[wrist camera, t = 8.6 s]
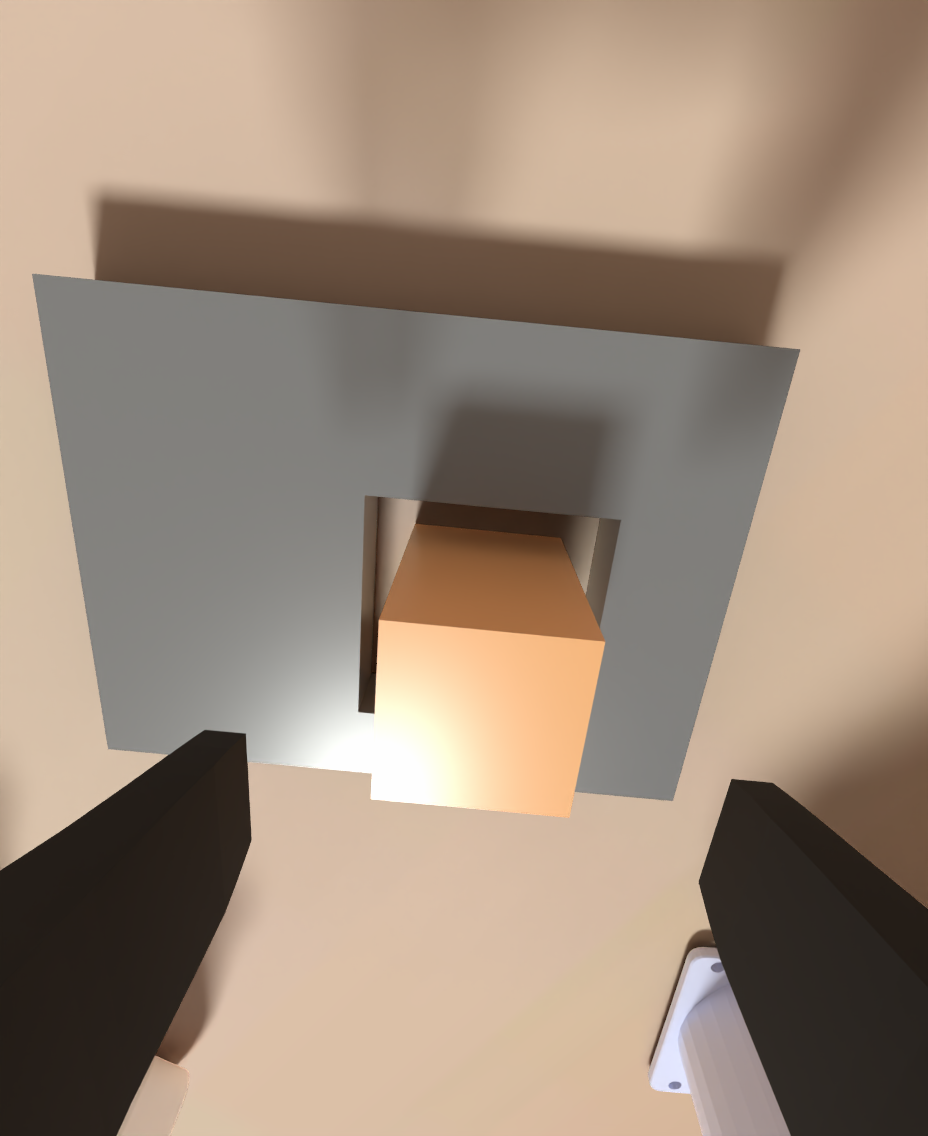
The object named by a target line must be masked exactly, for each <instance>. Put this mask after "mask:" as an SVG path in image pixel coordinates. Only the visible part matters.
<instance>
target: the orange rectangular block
mask: <svg viewBox="0 0 928 1136" xmlns="http://www.w3.org/2000/svg"><path fill="white" fill-rule="evenodd" d="M604 646H605V640H604V637H603V635H602V633H601V630H600V628H599V626H598V623H597V621H596V619H595V616H594V614H593V612H592V609H591V607H590V605H589V602H588V600H587V598H586V596H585V593H584V591H583V589H582V586H581V584H580V582H579V579H578V577H577V575H576V572H575V570H574V568H573V565H572V563H571V561H570V558H569V556H568V554H567V552H566V549H565V547H564V545H563V542H562V540H561V538H557V537H547V536H537V535H527V534H516V533H506V532H496V531H486V530H475V529H465V528H455V527H445V526H435V525H424V524H415V526H414V528H413V531H412V534H411V536H410V539H409V542H408V544H407V547H406V549H405V552H404V555H403V557H402V560H401V563H400V565H399V568H398V571H397V573H396V576H395V579H394V581H393V584H392V586H391V589H390V592H389V594H388V597H387V600H386V602H385V605H384V608H383V610H382V613H381V616H380V618H379V628H378V650H377V673H376V695H375V717H374V740H373V762H372V784H371V799H376V800H386V801H397V802H408V803H418V804H429V805H440V806H450V807H461V808H472V809H482V810H493V811H504V812H514V813H525V814H536V815H546V816H557V817H568V818H569V816H570V812H571V807H572V802H573V797H574V792H575V787H576V782H577V778H578V773H579V768H580V763H581V758H582V753H583V748H584V744H585V739H586V734H587V729H588V724H589V719H590V714H591V709H592V705H593V700H594V695H595V690H596V685H597V680H598V675H599V671H600V666H601V661H602V656H603V651H604Z"/></svg>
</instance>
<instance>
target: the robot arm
mask: <svg viewBox="0 0 928 1136" xmlns="http://www.w3.org/2000/svg"><path fill="white" fill-rule="evenodd" d="M250 843H251V821H250V802H249V783H248V764H247V745H246V733H235V732H224V731H214V730H204V731H202V732H201V733H199V734H198V735H196V736H195V737H193V738H192V739H190V740H189V741H188V742H186V743H185V744H183V745H182V746H180V747H179V748H178V749H176V750H175V751H173V752H172V753H171V754H169V755H168V756H167V757H165V758H164V759H162V760H161V761H160V762H158V763H157V764H155V765H154V766H153V767H151V768H150V769H149V770H147V771H146V772H144V773H143V774H142V775H140V776H139V777H137V778H136V779H135V780H133V781H132V782H130V783H129V784H128V785H126V786H125V787H123V788H122V789H121V790H119V791H118V792H116V793H115V794H113V795H112V796H111V797H109V798H108V799H106V800H105V801H103V802H102V803H101V804H99V805H98V806H96V807H95V808H93V809H92V810H91V811H89V812H88V813H86V814H85V815H83V816H82V817H81V818H79V819H78V820H76V821H75V822H74V823H72V824H71V825H69V826H68V827H66V828H65V829H63V830H62V831H60V832H59V833H57V834H56V835H54V836H53V837H51V838H50V839H48V840H47V841H45V842H44V843H42V844H41V845H39V846H37V847H36V848H34V849H33V850H31V851H30V852H28V853H27V854H25V855H24V856H22V857H21V858H19V859H17V860H16V861H14V862H13V863H11V864H10V865H8V866H7V867H5V868H4V869H2V870H1V871H0V1136H117V1134H118V1132H119V1129H120V1127H121V1125H122V1123H123V1121H124V1118H125V1116H126V1114H127V1112H128V1110H129V1107H130V1105H131V1103H132V1101H133V1099H134V1097H135V1095H136V1093H137V1091H138V1089H139V1087H140V1085H141V1083H142V1081H143V1079H144V1077H145V1075H146V1073H147V1071H148V1069H149V1067H150V1065H151V1063H152V1061H153V1058H154V1056H155V1054H156V1052H157V1050H158V1048H159V1046H160V1044H161V1042H162V1040H163V1038H164V1036H165V1034H166V1032H167V1030H168V1028H169V1026H170V1024H171V1022H172V1020H173V1018H174V1016H175V1014H176V1012H177V1010H178V1008H179V1006H180V1004H181V1002H182V1000H183V998H184V996H185V994H186V992H187V990H188V988H189V986H190V984H191V982H192V980H193V978H194V976H195V974H196V972H197V969H198V967H199V965H200V963H201V961H202V959H203V957H204V955H205V953H206V951H207V949H208V947H209V945H210V943H211V941H212V939H213V937H214V935H215V933H216V930H217V928H218V926H219V924H220V922H221V920H222V918H223V916H224V914H225V912H226V909H227V906H228V904H229V901H230V898H231V896H232V893H233V890H234V888H235V885H236V882H237V880H238V877H239V874H240V871H241V869H242V866H243V863H244V860H245V857H246V854H247V852H248V849H249V846H250ZM699 885H700V889H701V893H702V896H703V900H704V904H705V908H706V912H707V916H708V919H709V923H710V927H711V930H712V933H713V937H714V940H715V944H716V947H717V948H712V947H697V948H694V949H693V950H691V951H690V952H689V954H688V955H687V958H686V961H685V964H684V967H683V970H682V973H681V976H680V979H679V982H678V985H677V988H676V991H675V994H674V997H673V1000H672V1003H671V1006H670V1009H669V1012H668V1015H667V1018H666V1021H665V1024H664V1027H663V1030H662V1033H661V1036H660V1039H659V1042H658V1045H657V1048H656V1051H655V1054H654V1057H653V1060H652V1063H651V1066H650V1068H649V1071H648V1078H649V1083H650V1086H651V1087H652V1088H653V1089H655V1090H657V1091H665V1092H676V1093H688V1094H691V1096H692V1100H693V1103H694V1107H695V1111H696V1114H697V1118H698V1121H699V1125H700V1128H701V1132H702V1135H703V1136H928V909H927V908H926V907H925V906H923V905H922V904H921V903H920V902H918V901H917V900H916V899H915V898H913V897H912V896H911V895H910V894H909V893H907V892H906V891H905V890H904V889H902V888H901V887H900V886H899V885H898V884H896V883H895V882H894V881H893V880H892V879H890V878H889V877H888V876H887V875H885V874H884V873H883V872H882V871H881V870H879V869H878V868H877V867H876V866H875V865H873V864H872V863H871V862H870V861H869V860H867V859H866V858H865V857H864V856H863V855H861V854H860V853H859V852H858V851H857V850H855V849H854V848H853V847H852V846H851V845H849V844H848V843H847V842H846V841H845V840H843V839H842V838H841V837H840V836H839V835H837V834H836V833H835V832H834V831H833V830H831V829H830V828H829V827H828V826H826V825H825V824H824V823H823V822H822V821H820V820H819V819H818V818H817V817H816V816H814V815H813V814H812V813H811V812H809V811H808V810H807V809H806V808H804V807H803V806H802V805H801V804H800V803H798V802H797V801H796V800H794V799H793V798H792V797H791V796H789V795H788V794H787V793H785V792H784V791H783V790H781V789H780V788H779V787H777V786H776V785H775V784H773V783H767V782H757V781H746V780H735V779H731V782H730V786H729V789H728V792H727V795H726V798H725V801H724V804H723V807H722V811H721V814H720V817H719V820H718V823H717V826H716V829H715V832H714V835H713V839H712V842H711V845H710V848H709V851H708V854H707V857H706V860H705V863H704V867H703V870H702V873H701V876H700V879H699Z"/></svg>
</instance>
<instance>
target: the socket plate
mask: <svg viewBox="0 0 928 1136" xmlns="http://www.w3.org/2000/svg"><path fill="white" fill-rule="evenodd" d="M32 276H33V282H34V289H35V295H36V301H37V307H38V314H39V320H40V326H41V332H42V339H43V345H44V351H45V357H46V364H47V370H48V376H49V382H50V389H51V395H52V401H53V407H54V414H55V420H56V426H57V432H58V439H59V445H60V451H61V457H62V464H63V470H64V476H65V482H66V489H67V495H68V501H69V507H70V514H71V520H72V526H73V532H74V539H75V545H76V551H77V557H78V564H79V570H80V576H81V582H82V589H83V595H84V601H85V607H86V614H87V620H88V626H89V632H90V639H91V645H92V651H93V657H94V664H95V670H96V676H97V682H98V689H99V695H100V701H101V707H102V714H103V720H104V726H105V732H106V738H107V745H108V749H114V750H124V751H135V752H146V753H157V754H168V755H169V754H171V753H172V752H173V751H175V750H176V749H178V748H179V747H180V746H182V745H183V744H185V743H186V742H188V741H189V740H190V739H192V738H193V737H195V736H196V735H198V734H199V733H201V732H202V731H204V730H214V731H224V732H235V733H246V745H247V762H255V763H266V764H277V765H288V766H299V767H310V768H320V769H331V770H342V771H353V772H364V773H372V762H373V740H374V717H375V695H376V674H375V673H371V669H372V643H373V617H374V591H375V566H376V540H377V514H378V497H388V498H398V499H408V500H419V501H429V502H440V503H450V504H460V505H471V506H481V507H492V508H502V509H513V510H523V511H533V512H544V513H554V514H565V515H575V516H586V517H596V518H600V522H599V528H598V533H597V538H596V544H595V549H594V555H593V560H592V566H591V571H590V577H589V582H588V587H587V593H586V598H587V600H588V602H589V605H590V607H591V609H592V612H593V614H594V616H595V619H596V621H597V623H598V626H599V628H600V630H601V633H602V635H603V637H604V640H605V646H604V651H603V656H602V661H601V666H600V671H599V675H598V680H597V685H596V690H595V695H594V700H593V705H592V709H591V714H590V719H589V724H588V729H587V734H586V739H585V744H584V748H583V753H582V758H581V763H580V768H579V773H578V778H577V782H576V787H575V792H582V793H593V794H603V795H614V796H625V797H636V798H647V799H658V800H669V801H673V798H674V795H675V791H676V788H677V784H678V781H679V777H680V773H681V770H682V766H683V763H684V759H685V756H686V752H687V749H688V745H689V742H690V738H691V735H692V731H693V727H694V724H695V720H696V717H697V713H698V710H699V706H700V703H701V699H702V696H703V692H704V688H705V685H706V681H707V678H708V674H709V671H710V667H711V664H712V660H713V657H714V653H715V650H716V646H717V642H718V639H719V635H720V632H721V628H722V625H723V621H724V618H725V614H726V611H727V607H728V604H729V600H730V596H731V593H732V589H733V586H734V582H735V579H736V575H737V572H738V568H739V565H740V561H741V558H742V554H743V550H744V547H745V543H746V540H747V536H748V533H749V529H750V526H751V522H752V519H753V515H754V512H755V508H756V504H757V501H758V497H759V494H760V490H761V487H762V483H763V480H764V476H765V473H766V469H767V466H768V462H769V458H770V455H771V451H772V448H773V444H774V441H775V437H776V434H777V430H778V427H779V423H780V420H781V416H782V412H783V409H784V405H785V402H786V398H787V395H788V391H789V388H790V384H791V381H792V377H793V374H794V370H795V366H796V363H797V359H798V356H799V352H800V349H790V348H779V347H769V346H759V345H749V344H739V343H729V342H719V341H709V340H698V339H688V338H678V337H668V336H658V335H648V334H638V333H628V332H617V331H607V330H597V329H587V328H577V327H567V326H557V325H547V324H536V323H526V322H516V321H506V320H496V319H486V318H476V317H466V316H455V315H445V314H435V313H425V312H415V311H405V310H395V309H385V308H374V307H364V306H354V305H344V304H334V303H324V302H314V301H304V300H293V299H283V298H273V297H263V296H253V295H243V294H233V293H223V292H212V291H202V290H192V289H182V288H172V287H162V286H152V285H142V284H131V283H121V282H111V281H101V280H91V279H81V278H71V277H61V276H50V275H40V274H32Z"/></svg>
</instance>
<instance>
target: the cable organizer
mask: <svg viewBox="0 0 928 1136" xmlns="http://www.w3.org/2000/svg"><path fill="white" fill-rule="evenodd" d="M189 1078H190V1076H189V1071H188V1070H187V1069H185V1068H182V1067H180V1066H178V1065H176V1064H173V1063H171V1062H169V1061H167V1060H164V1059H162V1058H160V1057H158V1056H154V1058H153V1061H152V1063H151V1065H150V1067H149V1069H148V1071H147V1073H146V1075H145V1077H144V1079H143V1081H142V1083H141V1085H140V1087H139V1089H138V1091H137V1093H136V1095H135V1097H134V1099H133V1101H132V1103H131V1105H130V1107H129V1110H128V1112H127V1114H126V1116H125V1118H124V1121H123V1123H122V1125H121V1127H120V1129H119V1132H118V1134H117V1136H170V1135H171V1133H172V1130H173V1128H174V1125H175V1123H176V1120H177V1118H178V1115H179V1113H180V1110H181V1108H182V1105H183V1102H184V1099H185V1096H186V1093H187V1089H188V1085H189Z"/></svg>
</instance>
